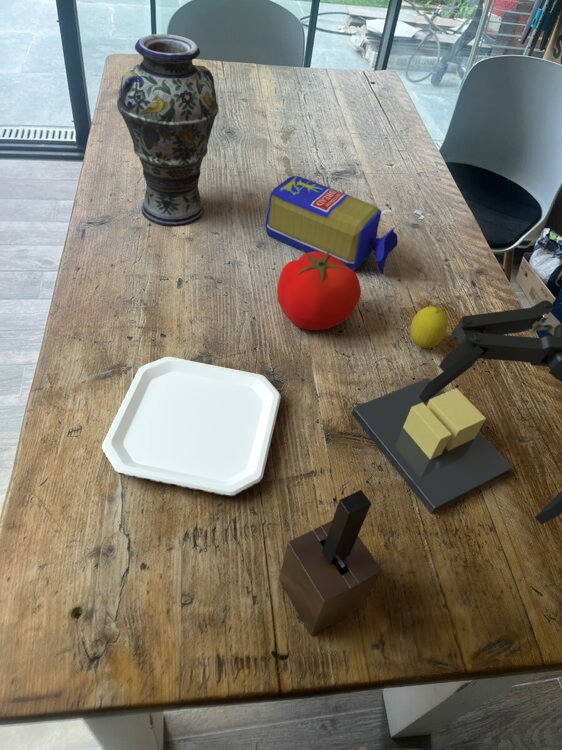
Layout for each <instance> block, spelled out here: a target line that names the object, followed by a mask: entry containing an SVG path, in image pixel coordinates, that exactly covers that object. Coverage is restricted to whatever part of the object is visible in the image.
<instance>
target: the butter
mask: <svg viewBox="0 0 562 750" xmlns="http://www.w3.org/2000/svg"><path fill="white" fill-rule="evenodd" d="M427 408H428V409H429V410H430V411H431V412H432V413H433V414H434V415H435V416H436V417H437V419H438V420H439V421H440V422H441V423H442V424H443V425H444V426H445V427H446V428H447V430H448V431H449V432H450V433H451V434H452V435H451V437H450V439H449V441H448V442H447V444H446V446H445V448H446V449H447V450H448V451H449V450H451V449H453V448H456V447H458V446H460V445H462V444H464V443H466V442H468V441H470V440H472V439H475V437H476V435H477V433H478V432H480V430H481V428H482V427H483V426H484V425H483V424H484V423H485V422H486V420H487V417H486V416H484V415H483V413H482V412H481V411H480V410H479V409H478V408H477V407H476V405H474V404H473V403H472V402H471V401H470V400H469V399H468V398H467V397H466V396H465V394H463V393H462V392H461V391H460V390H459V389H458V388H453V389H451V390H448V391H446V392H443V394H442V395H439V396H437V397H434V398H432V399H430V400H429V402H428V405H427Z"/></svg>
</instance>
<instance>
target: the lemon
mask: <svg viewBox="0 0 562 750" xmlns="http://www.w3.org/2000/svg"><path fill="white" fill-rule="evenodd" d="M447 330H448V318H447V315H446V313H445V312H444V311H443V310H442V309H441V308H440V307H437V306H426V307H423V308H421V309H420V310H419V311H418V312H416V315H414V317H413V318H412V321H411V323H410V329H409V333H410V337H411V339H412V341H413V342H414V344H416V345H417V346H418V347H420V348H423V349H424V348H425V349H431V348H434V347H436V346H438V345H439V344H440V343H441V342H442V341H443V340H444V338H445V336H446V334H447Z"/></svg>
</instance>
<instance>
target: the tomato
mask: <svg viewBox="0 0 562 750" xmlns="http://www.w3.org/2000/svg"><path fill="white" fill-rule="evenodd" d="M330 250H331V249H330ZM330 250H329V251H328V252H327V254H325V253H321V252H316V251H314V252H310V253H306V252H305V251H304V250H302V249H301V250H300V251H302V252H303V253H302V255H301V256H300V257H299V258H298V259H293V260H291V261H289V262H287V263H286V264H285V265H284V266H283V267H282V269H281V272H280V276H279V279H278V281H277V286H276V296H277V302H278V305H279V306H280V308H281V311H282V312H283V314H284V316H285V317H286V318H287V319H288V320H289V321H290V322H291V324H292V325H294V326H295V327H297V328H300V329H304V330H309V331H319V330H328V329H330V328H333V327H335V326H337V325H340V324H342V323H343V322H345V321H346V320H347V319H348V318H349V317H350V316H351V315H352V314H353V312H354V311H355V309H356V307H357V306H358V304H359V302H360V299H361V293H362V287H361V284H360V279H359V277H358V275H357V272H356V271H355V270H351V269H350V268H349V267H347V266H346V265H345V264H344V263H343V262H342V261H340V260H338V259H337V258H335V257H333V256H331V255H330V254H329V252H330Z"/></svg>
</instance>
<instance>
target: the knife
mask: <svg viewBox="0 0 562 750" xmlns="http://www.w3.org/2000/svg"><path fill="white" fill-rule="evenodd" d="M371 506H372V502H371V501H370V500H369V497H367V496H366V493H364V491H363V490H362V489H359V490H357V491H355V492H353V493H351V494H349V495H347V496H345V497H343V498H340V499H339V500H338V503H337V506H336V509H335V511H334V514H333V516H332V517H333V518H332V520H331V521H332V523H331V526H330V529H329V532H328V535H327V538H326V541H325V544H324V547H323V550H322V553H323V555H324V557H325V558H326V560H327V561H328V563H329V564H330V565H332V564H334V565H335V566H336V568H337V569H338V571H339V572H340V574H341V575H342V572H343V570H344V568H345V565H344V563H343V562H342V559H344V558H345V557H347V556H349V555H350V553H351V551H352V549H353V546H354V544H355V541H356V539H357V537H358V536H359V535H360V532H361V530H362V527H363V525H364V522H365V520H366V517H367V515H368V513H369V510H370V508H371Z"/></svg>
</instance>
